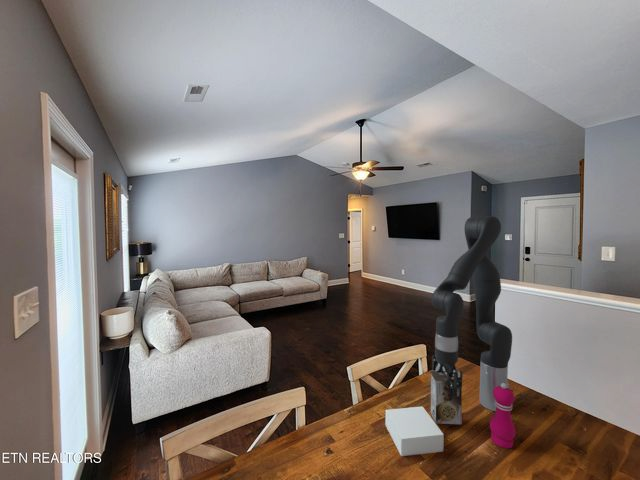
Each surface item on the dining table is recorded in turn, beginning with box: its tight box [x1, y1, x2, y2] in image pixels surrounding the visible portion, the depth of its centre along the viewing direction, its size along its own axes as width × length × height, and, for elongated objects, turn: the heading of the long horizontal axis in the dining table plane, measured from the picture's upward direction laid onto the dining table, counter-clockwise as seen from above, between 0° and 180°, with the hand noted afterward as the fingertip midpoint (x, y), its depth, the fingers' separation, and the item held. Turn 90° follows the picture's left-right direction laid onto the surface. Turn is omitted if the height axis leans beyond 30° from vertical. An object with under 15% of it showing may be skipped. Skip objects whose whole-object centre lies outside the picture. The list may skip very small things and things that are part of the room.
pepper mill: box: [489, 383, 516, 449], centre depth 96 cm, size 7×7×20 cm
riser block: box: [385, 406, 445, 457], centre depth 98 cm, size 14×14×6 cm
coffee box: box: [430, 370, 463, 425], centre depth 105 cm, size 9×6×16 cm
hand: (445, 390), depth 105 cm, fingers closed on coffee box, 7 cm apart
